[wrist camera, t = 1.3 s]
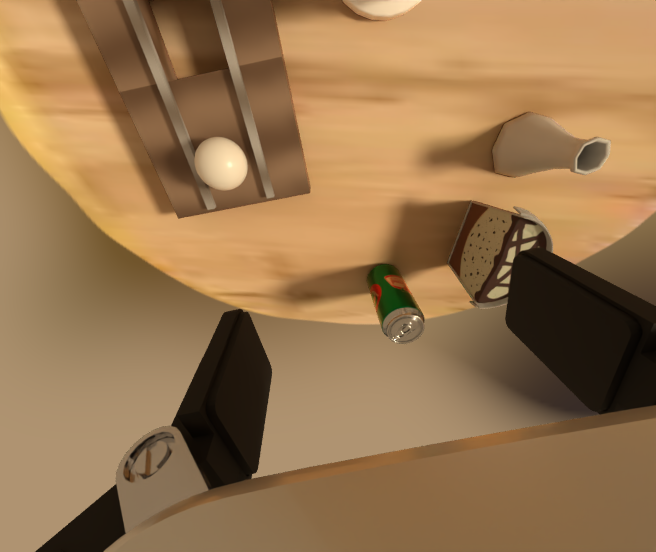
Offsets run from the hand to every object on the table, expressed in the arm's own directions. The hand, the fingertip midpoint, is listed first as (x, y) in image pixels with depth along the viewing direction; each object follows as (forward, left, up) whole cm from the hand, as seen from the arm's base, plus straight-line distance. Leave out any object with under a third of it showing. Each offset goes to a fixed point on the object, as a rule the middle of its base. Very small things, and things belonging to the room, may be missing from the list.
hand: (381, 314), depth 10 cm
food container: (+12, +19, -28) cm, 36 cm away
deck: (-10, -11, -28) cm, 32 cm away
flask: (+1, +23, -28) cm, 36 cm away
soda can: (+16, +5, -28) cm, 33 cm away
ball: (-4, -11, -23) cm, 25 cm away
